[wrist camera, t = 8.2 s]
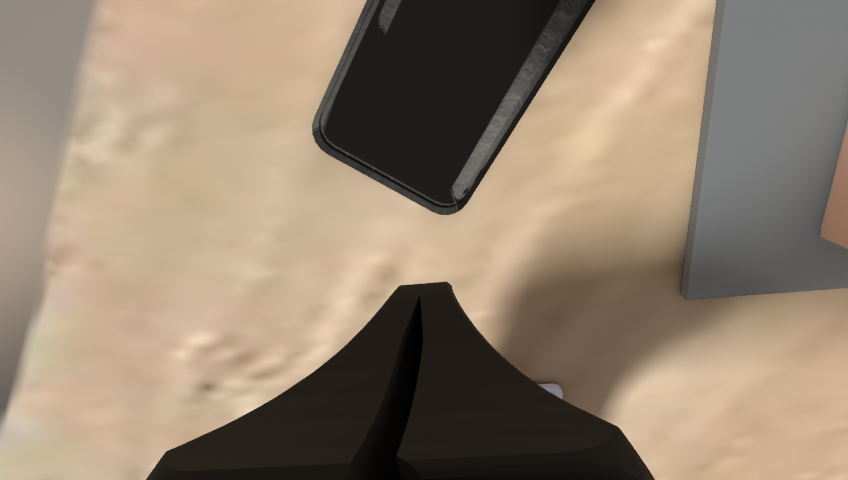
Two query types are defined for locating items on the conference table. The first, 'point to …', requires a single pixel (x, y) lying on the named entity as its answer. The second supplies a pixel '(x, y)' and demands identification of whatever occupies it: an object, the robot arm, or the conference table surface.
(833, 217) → the light brown rectangular block
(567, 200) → the conference table surface
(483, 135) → the phone
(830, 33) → the mat
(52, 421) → the conference table surface
